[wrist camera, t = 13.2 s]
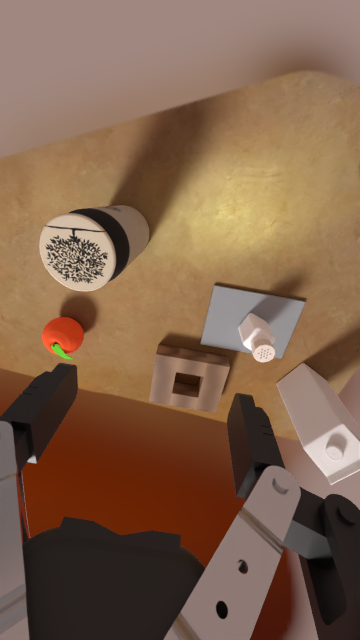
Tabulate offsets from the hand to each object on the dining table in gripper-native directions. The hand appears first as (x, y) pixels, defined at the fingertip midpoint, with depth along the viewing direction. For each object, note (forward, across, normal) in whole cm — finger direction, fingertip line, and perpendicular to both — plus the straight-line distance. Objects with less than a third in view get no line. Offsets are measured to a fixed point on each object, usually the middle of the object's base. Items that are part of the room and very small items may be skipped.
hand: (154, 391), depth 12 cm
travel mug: (+32, +10, -2) cm, 34 cm away
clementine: (+32, +19, +18) cm, 42 cm away
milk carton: (+32, -28, +21) cm, 48 cm away
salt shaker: (+32, -14, +10) cm, 36 cm away
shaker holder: (+32, -5, +24) cm, 40 cm away
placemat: (+32, -14, +10) cm, 36 cm away
